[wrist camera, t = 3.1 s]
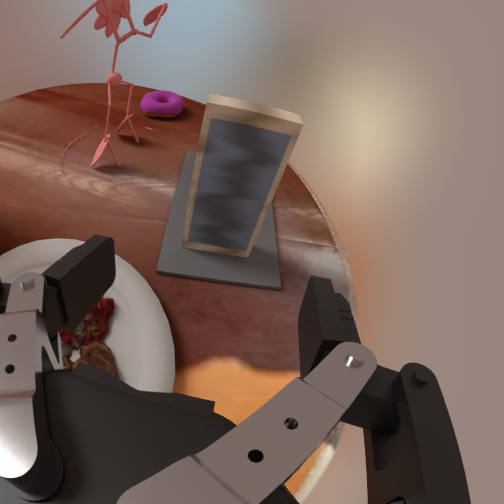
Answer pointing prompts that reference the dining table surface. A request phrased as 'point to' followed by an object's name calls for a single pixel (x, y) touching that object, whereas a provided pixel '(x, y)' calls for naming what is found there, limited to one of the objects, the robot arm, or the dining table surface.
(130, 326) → the plated food
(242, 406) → the dining table surface
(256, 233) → the birch picture frame
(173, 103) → the donut
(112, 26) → the figurine
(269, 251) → the rubber mat
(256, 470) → the robot arm
